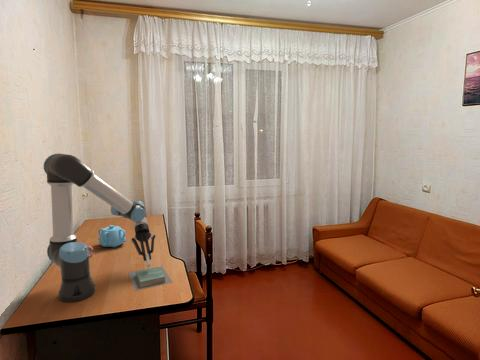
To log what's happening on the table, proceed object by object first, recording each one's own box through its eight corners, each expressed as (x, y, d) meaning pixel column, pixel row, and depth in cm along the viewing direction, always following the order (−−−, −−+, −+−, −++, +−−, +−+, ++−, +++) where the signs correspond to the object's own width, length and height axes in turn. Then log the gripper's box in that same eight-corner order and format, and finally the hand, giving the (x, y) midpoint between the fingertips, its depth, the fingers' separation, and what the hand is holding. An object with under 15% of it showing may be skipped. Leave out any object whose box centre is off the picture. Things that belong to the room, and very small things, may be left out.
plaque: (158, 270, 170) (165, 281, 158) (135, 275, 164) (140, 286, 152) (158, 266, 170) (165, 277, 157) (135, 271, 164) (140, 282, 152)
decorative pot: (100, 251, 201) (99, 230, 199) (98, 243, 215) (96, 224, 213) (127, 246, 209) (126, 226, 207) (123, 239, 223) (122, 221, 221)
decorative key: (59, 263, 189) (94, 255, 193) (58, 264, 188) (94, 256, 192) (56, 253, 187) (92, 245, 192) (55, 254, 186) (91, 245, 191)
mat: (172, 283, 157) (172, 282, 157) (135, 291, 149) (135, 290, 148) (162, 267, 176) (162, 266, 176) (128, 273, 168) (128, 272, 168)
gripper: (152, 228, 182) (160, 266, 169) (128, 231, 176) (135, 271, 163) (153, 221, 176) (162, 260, 164) (129, 224, 170) (136, 265, 158)
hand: (148, 265), depth 164 cm, fingers closed
